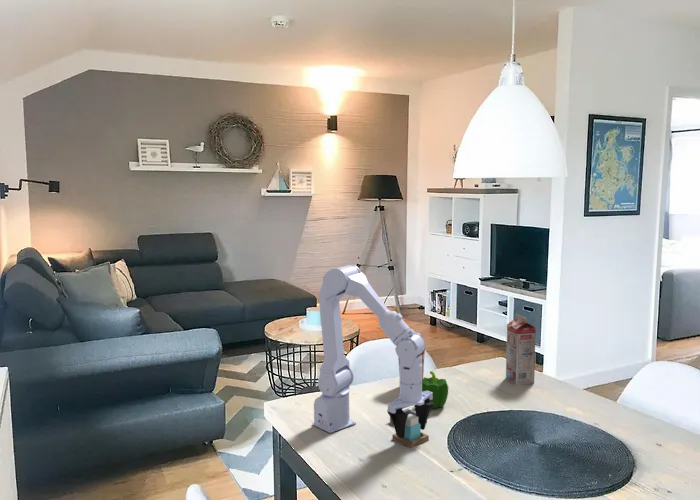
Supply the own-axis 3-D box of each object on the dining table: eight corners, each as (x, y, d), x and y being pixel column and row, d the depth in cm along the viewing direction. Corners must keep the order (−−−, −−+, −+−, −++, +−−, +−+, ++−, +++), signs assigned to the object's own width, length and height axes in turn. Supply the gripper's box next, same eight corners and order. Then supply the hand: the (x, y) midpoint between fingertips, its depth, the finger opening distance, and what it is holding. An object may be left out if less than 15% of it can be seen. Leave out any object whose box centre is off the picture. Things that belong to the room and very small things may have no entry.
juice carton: (516, 384, 193) (517, 318, 190) (505, 378, 199) (507, 314, 197) (534, 383, 194) (536, 317, 192) (523, 376, 201) (525, 313, 198)
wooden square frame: (410, 447, 148) (410, 443, 148) (392, 439, 153) (392, 434, 153) (428, 440, 152) (428, 435, 152) (410, 432, 157) (410, 427, 157)
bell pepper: (448, 412, 171) (448, 378, 169) (419, 410, 172) (419, 377, 171) (448, 401, 179) (448, 369, 178) (420, 400, 180) (421, 368, 179)
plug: (410, 444, 150) (410, 420, 149) (400, 439, 153) (400, 416, 152) (420, 440, 152) (420, 417, 152) (410, 435, 155) (410, 412, 154)
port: (408, 430, 158) (408, 421, 158) (390, 422, 164) (390, 414, 164) (427, 422, 163) (427, 414, 163) (408, 415, 168) (408, 407, 168)
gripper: (401, 392, 143) (401, 445, 145) (441, 378, 152) (441, 429, 154) (381, 384, 148) (382, 436, 150) (421, 372, 158) (421, 421, 159)
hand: (410, 432), depth 152 cm, fingers open, 7 cm apart
